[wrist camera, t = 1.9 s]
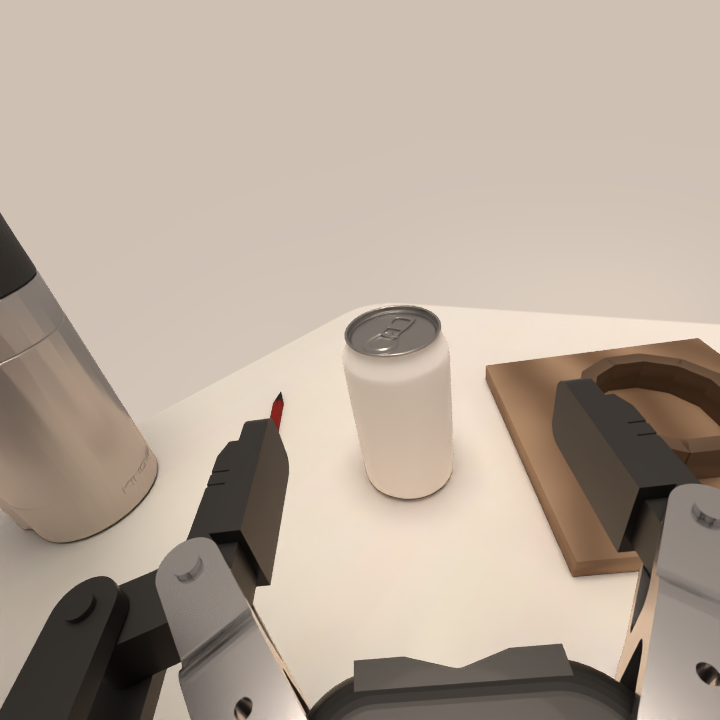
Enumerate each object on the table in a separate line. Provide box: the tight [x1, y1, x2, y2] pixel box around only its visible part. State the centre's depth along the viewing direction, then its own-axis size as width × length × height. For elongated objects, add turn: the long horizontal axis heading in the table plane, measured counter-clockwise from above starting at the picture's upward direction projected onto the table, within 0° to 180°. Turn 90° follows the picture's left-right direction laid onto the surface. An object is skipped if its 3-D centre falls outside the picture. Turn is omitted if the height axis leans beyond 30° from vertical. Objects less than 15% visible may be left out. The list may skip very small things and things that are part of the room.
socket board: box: [486, 338, 720, 577], centre depth 28 cm, size 18×18×4 cm
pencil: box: [270, 392, 283, 432], centre depth 35 cm, size 1×14×1 cm, turn 2°
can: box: [343, 305, 453, 499], centre depth 27 cm, size 6×6×12 cm
